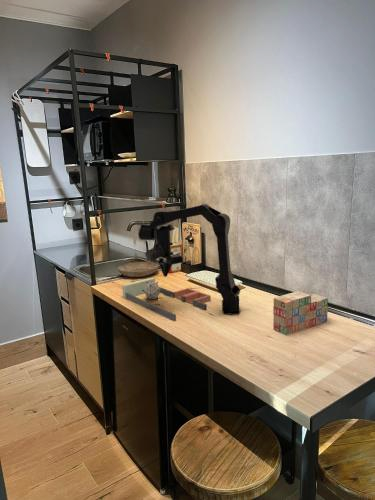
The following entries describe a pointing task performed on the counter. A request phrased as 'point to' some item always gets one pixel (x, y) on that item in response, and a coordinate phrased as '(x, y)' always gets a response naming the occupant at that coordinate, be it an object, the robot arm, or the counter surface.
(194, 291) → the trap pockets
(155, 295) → the game die
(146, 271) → the ceramic bowl
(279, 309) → the stack of blocks
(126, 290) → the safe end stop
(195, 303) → the lane rails
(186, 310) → the counter surface
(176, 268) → the baking soda box
